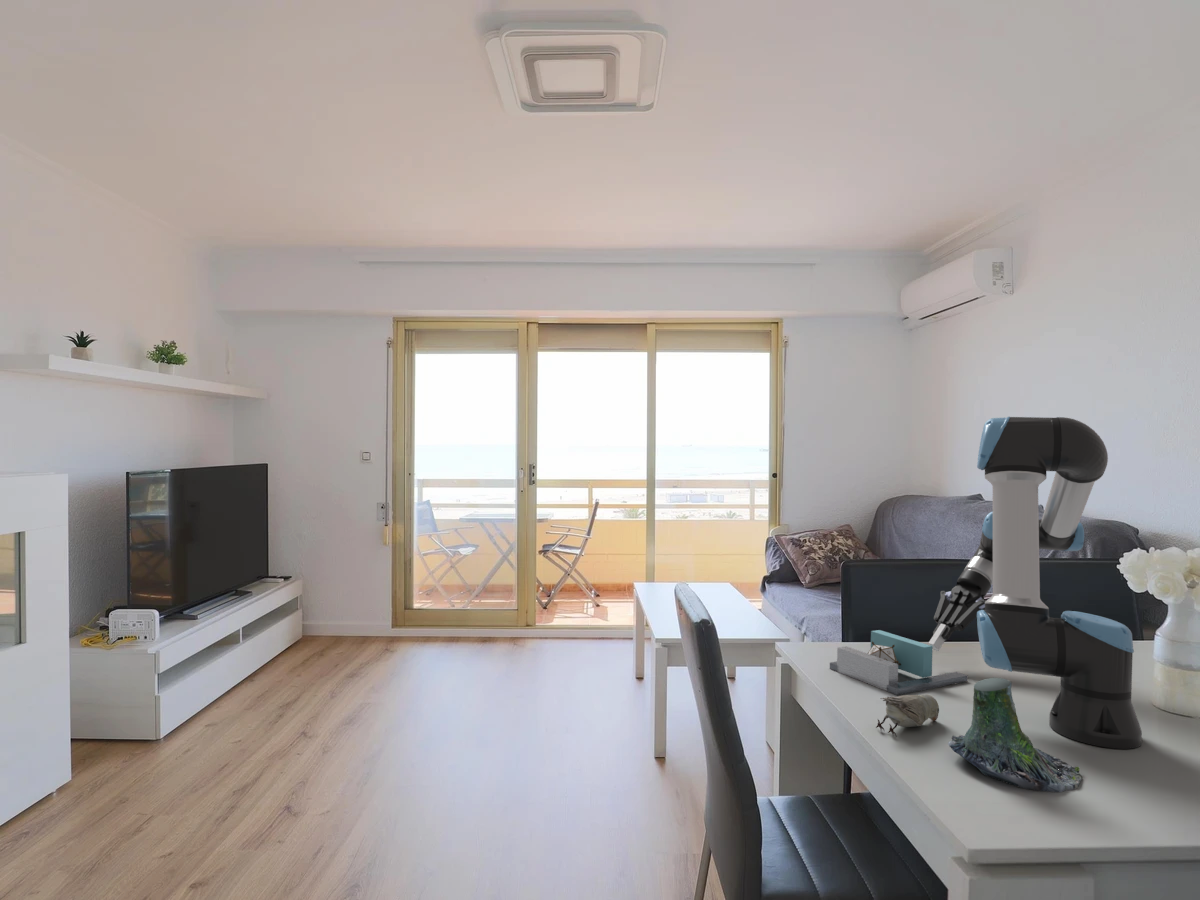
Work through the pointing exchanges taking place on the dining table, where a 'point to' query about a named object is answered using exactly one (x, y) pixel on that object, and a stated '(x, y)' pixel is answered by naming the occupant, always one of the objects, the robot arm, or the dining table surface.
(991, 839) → the dining table surface
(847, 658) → the vise base
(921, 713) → the decorative bird
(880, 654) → the game die
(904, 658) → the sliding jaw
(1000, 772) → the tree stump
